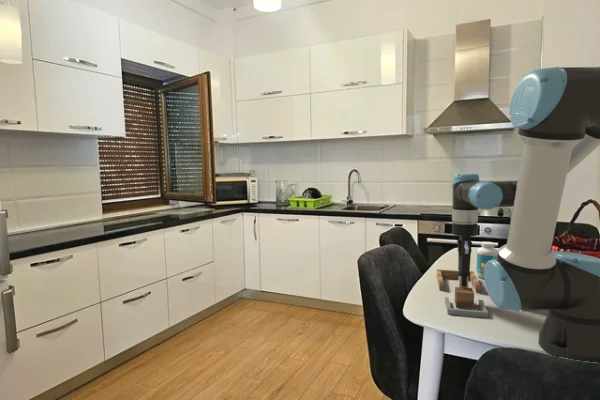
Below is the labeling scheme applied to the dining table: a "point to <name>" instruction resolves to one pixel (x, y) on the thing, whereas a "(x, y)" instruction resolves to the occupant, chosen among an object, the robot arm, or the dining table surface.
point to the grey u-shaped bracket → (467, 312)
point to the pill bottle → (485, 256)
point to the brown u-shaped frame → (453, 275)
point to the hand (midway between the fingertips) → (463, 294)
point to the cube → (464, 297)
